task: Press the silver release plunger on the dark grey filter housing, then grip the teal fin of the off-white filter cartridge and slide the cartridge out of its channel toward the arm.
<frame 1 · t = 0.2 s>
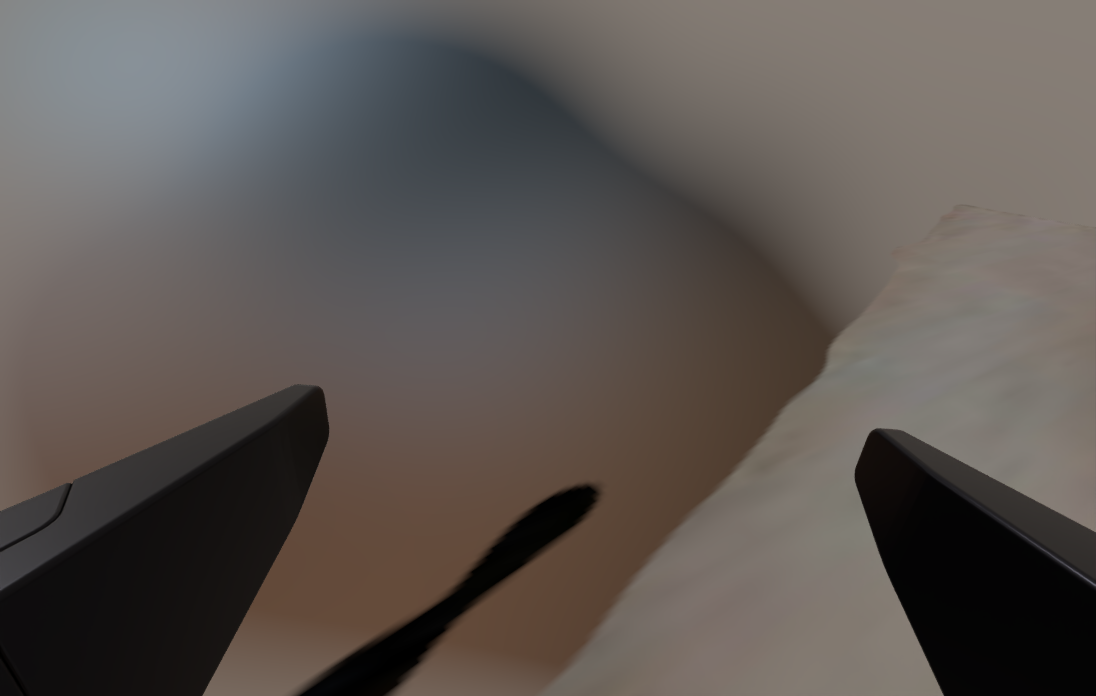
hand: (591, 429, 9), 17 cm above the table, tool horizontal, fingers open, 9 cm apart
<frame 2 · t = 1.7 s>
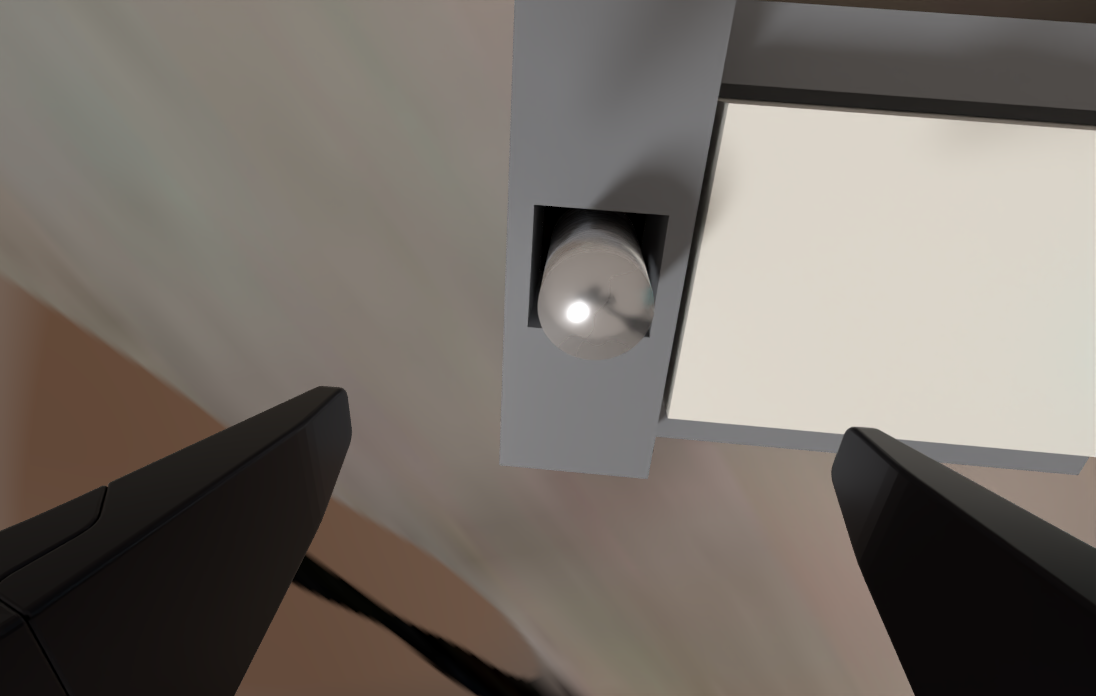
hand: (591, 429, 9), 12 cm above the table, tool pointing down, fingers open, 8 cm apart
filter cartridge: (983, 308, 15), point 5 cm above the table, slide at 0.0 cm
filter housing: (860, 250, 20), on the table
release plunger: (594, 271, 16), point 5 cm above the table, slide at 0.0 cm
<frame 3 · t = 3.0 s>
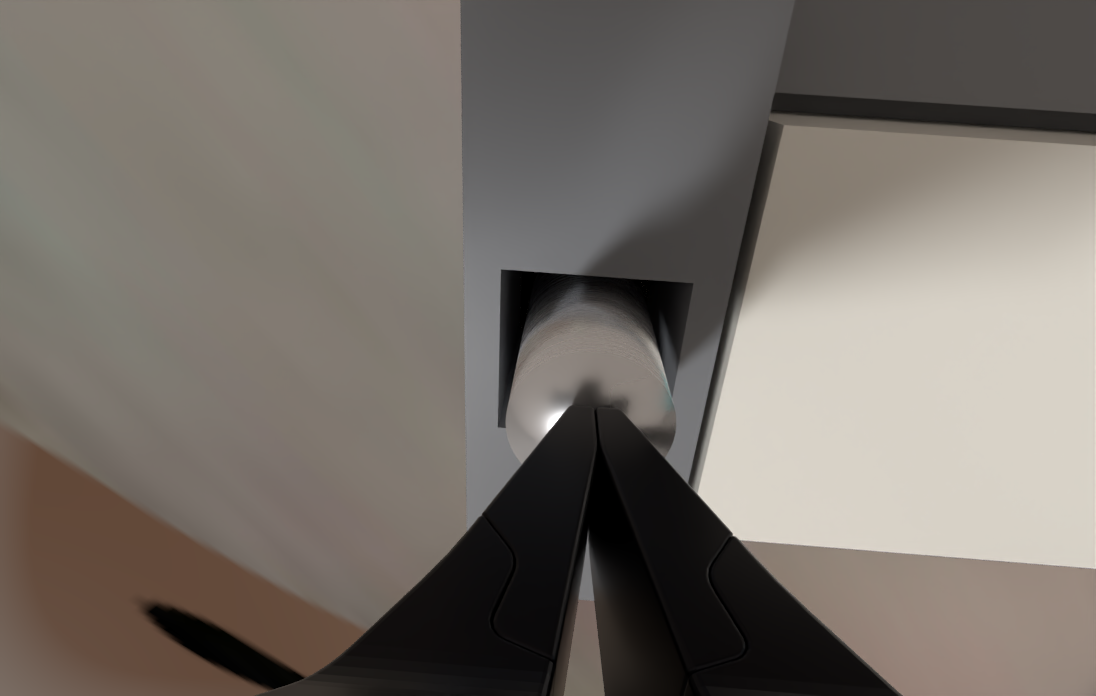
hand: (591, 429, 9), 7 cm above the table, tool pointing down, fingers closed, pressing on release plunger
filter housing: (928, 300, 16), on the table
release plunger: (588, 350, 12), point 5 cm above the table, slide at 0.2 cm, touching gripper
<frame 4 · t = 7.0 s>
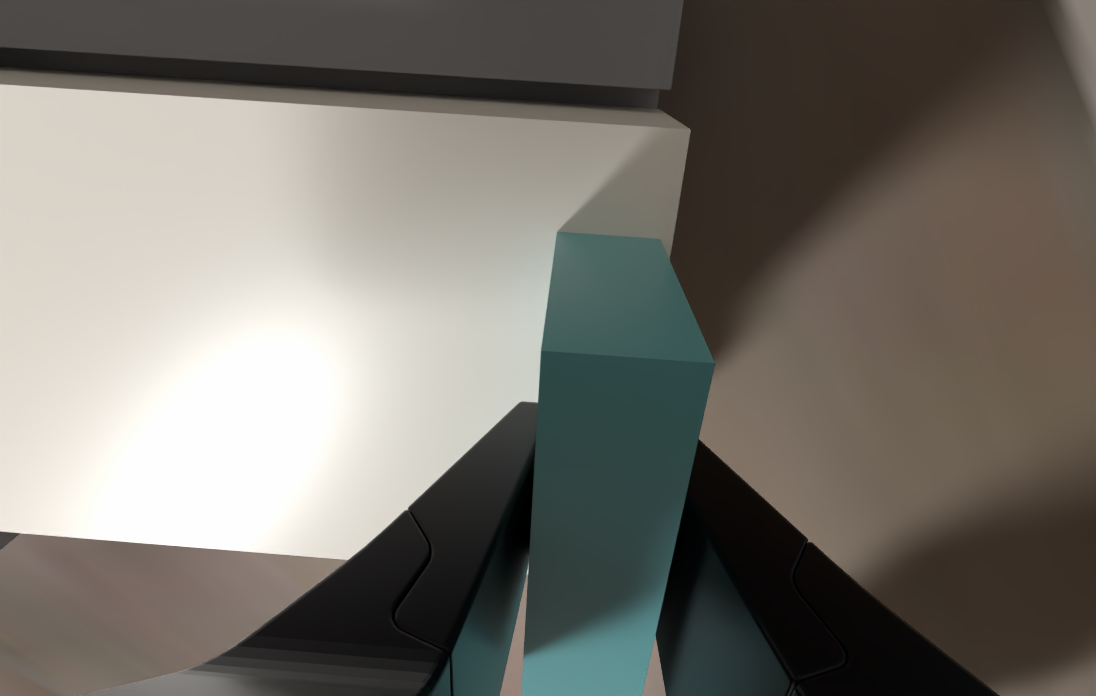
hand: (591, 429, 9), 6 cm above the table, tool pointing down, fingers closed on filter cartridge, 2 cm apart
filter cartridge: (208, 376, 10), point 5 cm above the table, slide at 0.0 cm, touching gripper
filter housing: (279, 274, 15), on the table
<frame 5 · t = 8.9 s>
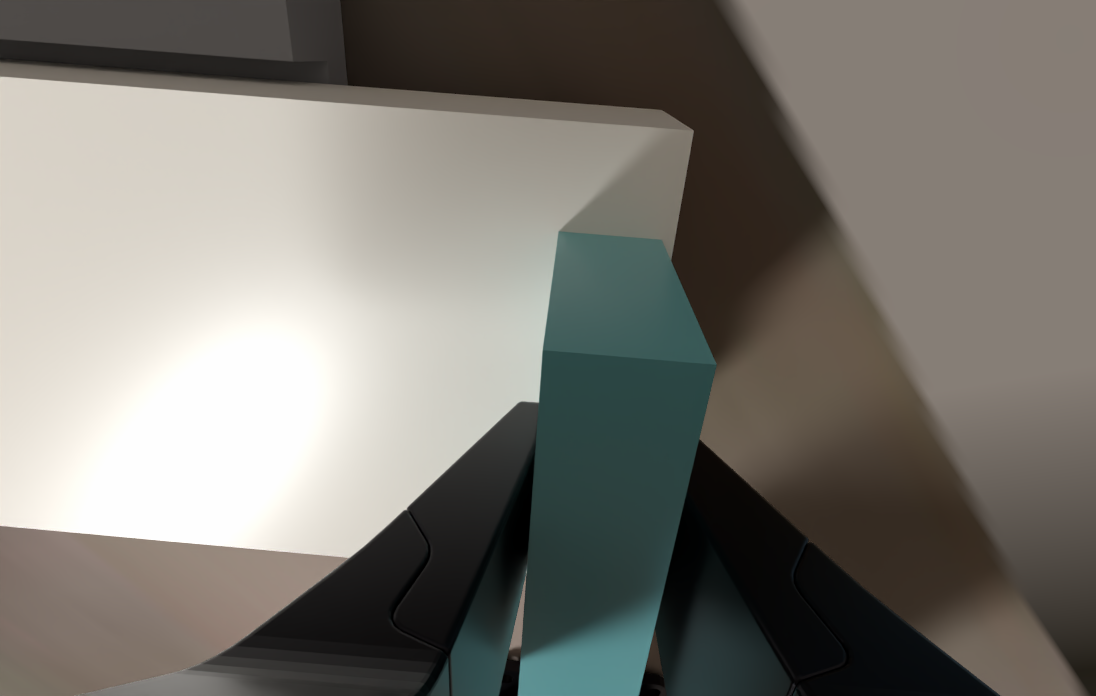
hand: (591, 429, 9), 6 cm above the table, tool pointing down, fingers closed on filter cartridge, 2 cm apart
filter cartridge: (207, 371, 10), point 5 cm above the table, slide at 6.8 cm, touching gripper
filter housing: (22, 249, 15), on the table
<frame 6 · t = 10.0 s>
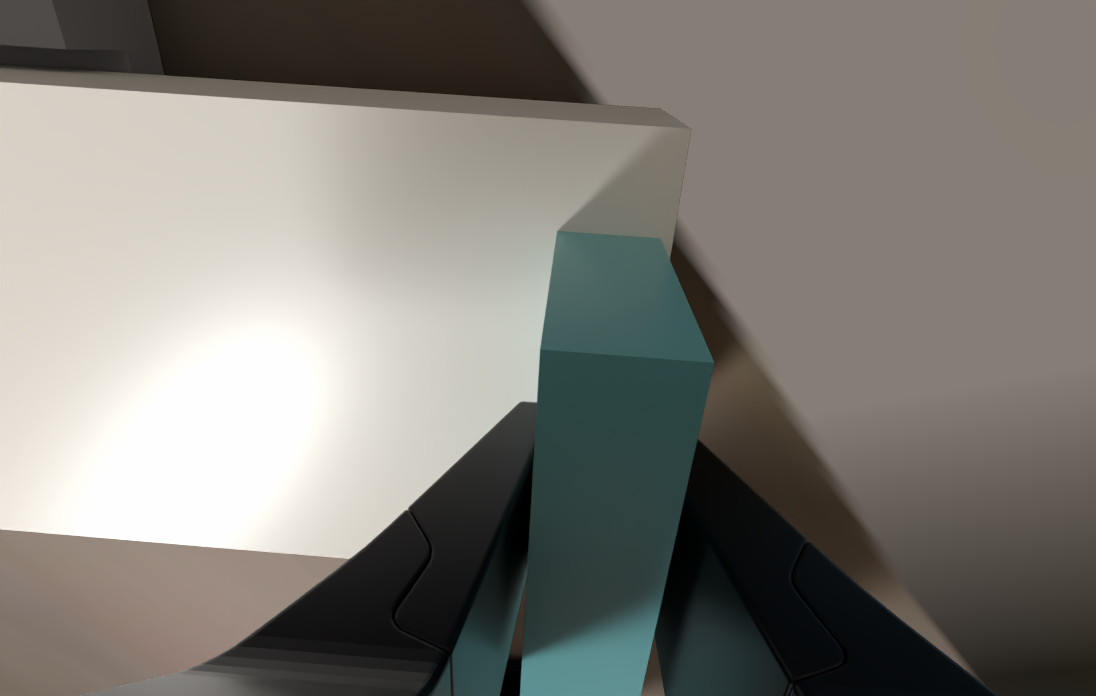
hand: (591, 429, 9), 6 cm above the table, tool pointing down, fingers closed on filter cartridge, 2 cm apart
filter cartridge: (208, 374, 10), point 5 cm above the table, slide at 10.9 cm, touching gripper
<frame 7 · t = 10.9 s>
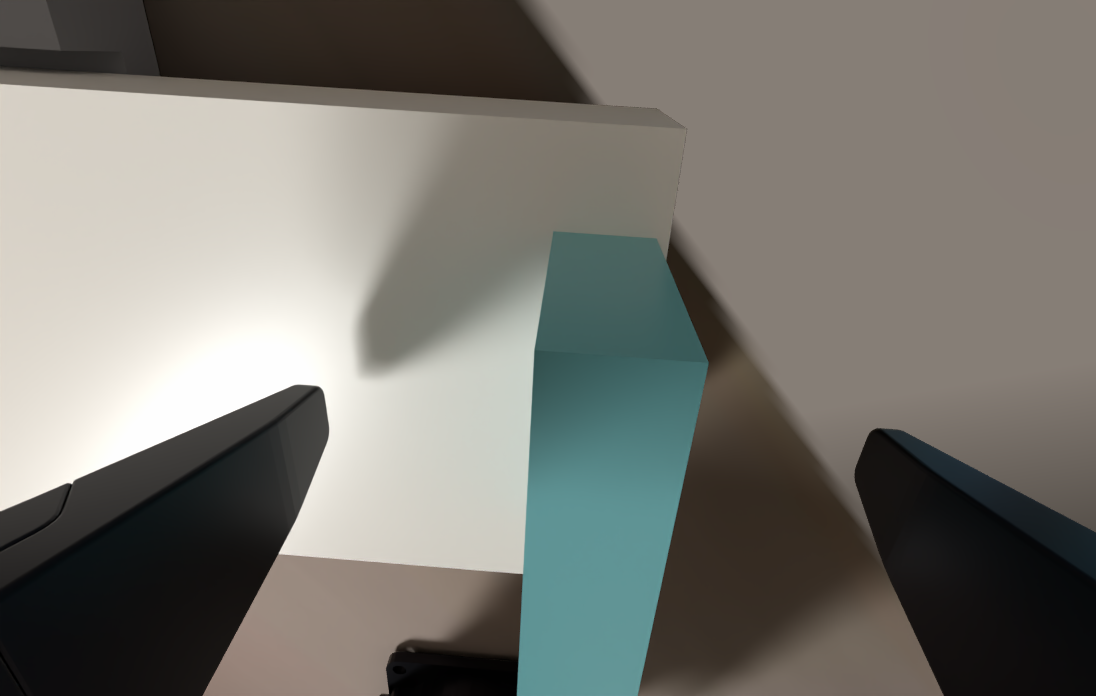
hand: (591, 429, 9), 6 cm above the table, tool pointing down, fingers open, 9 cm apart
filter cartridge: (205, 375, 10), point 5 cm above the table, slide at 10.9 cm
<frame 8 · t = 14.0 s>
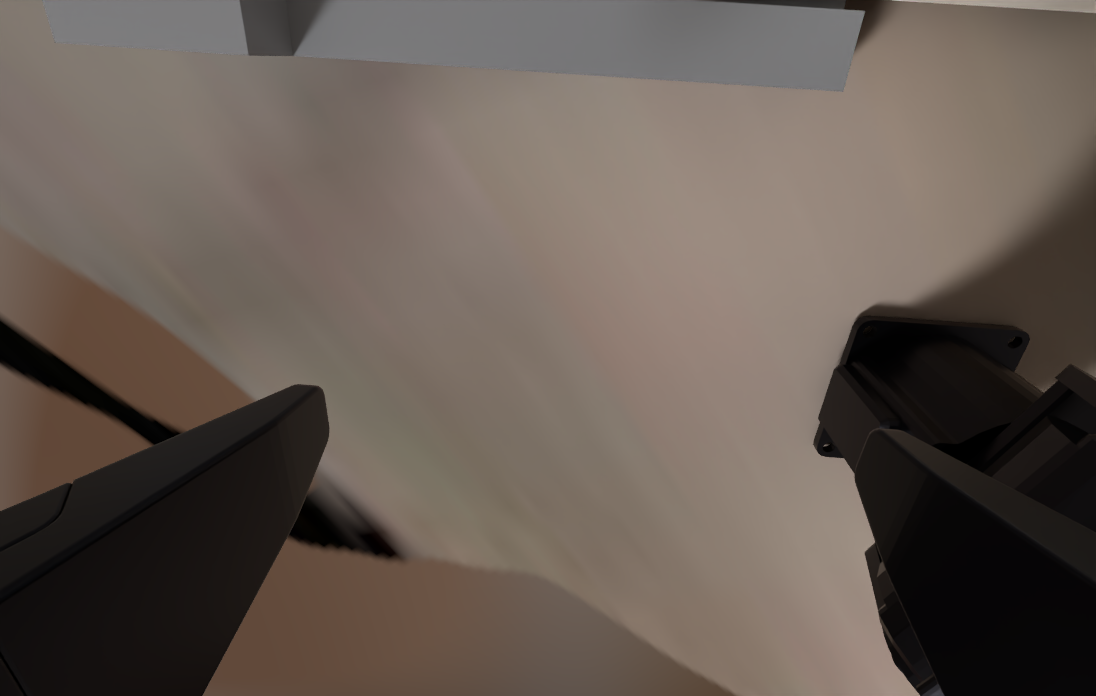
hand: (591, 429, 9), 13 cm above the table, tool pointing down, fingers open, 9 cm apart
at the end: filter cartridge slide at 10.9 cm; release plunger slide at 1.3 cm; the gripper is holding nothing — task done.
